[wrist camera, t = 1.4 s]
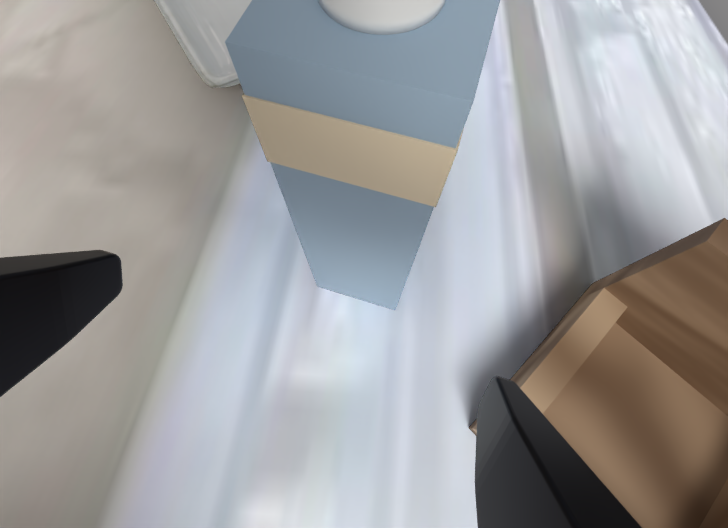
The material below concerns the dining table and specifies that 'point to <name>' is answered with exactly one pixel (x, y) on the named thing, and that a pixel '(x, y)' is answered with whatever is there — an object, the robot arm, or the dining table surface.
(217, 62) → the square plate
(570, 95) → the dining table surface
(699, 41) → the dining table surface
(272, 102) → the slate-blue roll carton
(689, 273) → the walnut cradle
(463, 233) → the dining table surface
